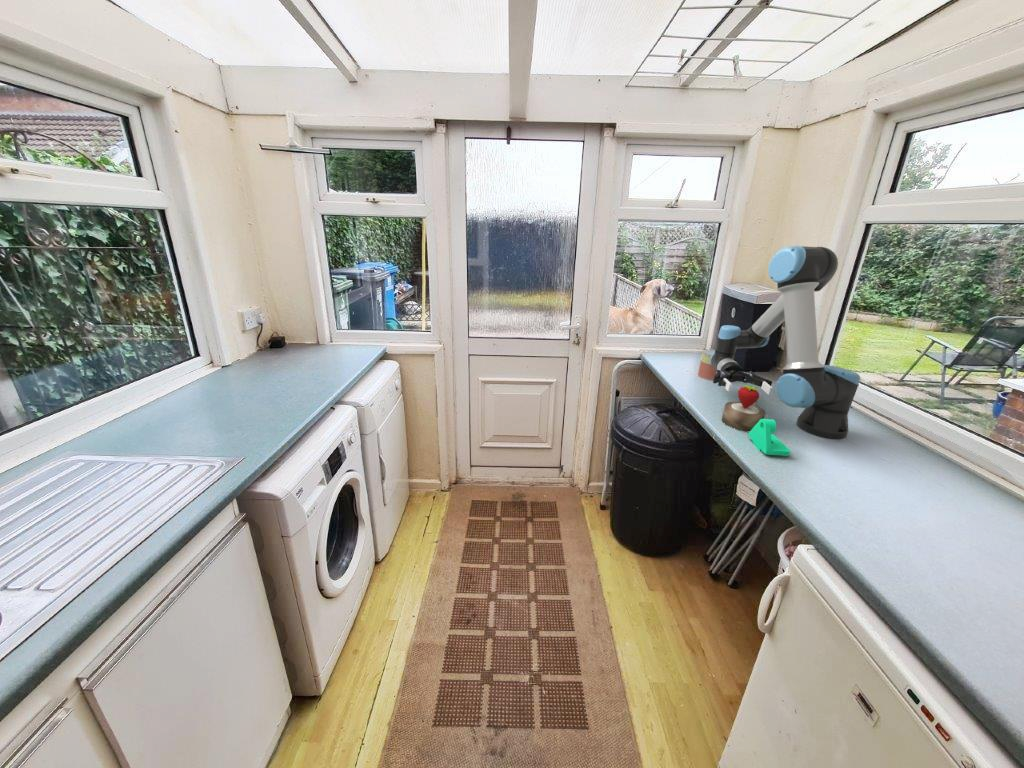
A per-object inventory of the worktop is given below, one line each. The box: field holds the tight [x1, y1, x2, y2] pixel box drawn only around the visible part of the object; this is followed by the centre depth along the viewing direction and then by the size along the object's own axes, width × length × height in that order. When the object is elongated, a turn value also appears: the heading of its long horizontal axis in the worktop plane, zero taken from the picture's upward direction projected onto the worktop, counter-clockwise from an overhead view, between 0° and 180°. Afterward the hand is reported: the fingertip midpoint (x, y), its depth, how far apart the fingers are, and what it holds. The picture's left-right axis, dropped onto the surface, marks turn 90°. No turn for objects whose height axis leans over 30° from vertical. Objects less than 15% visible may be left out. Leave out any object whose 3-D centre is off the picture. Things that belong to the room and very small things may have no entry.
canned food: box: [697, 349, 722, 382], centre depth 198 cm, size 11×11×12 cm
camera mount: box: [747, 418, 791, 457], centre depth 134 cm, size 12×8×10 cm, turn 175°
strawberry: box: [737, 382, 760, 408], centre depth 149 cm, size 6×8×10 cm
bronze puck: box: [721, 400, 766, 432], centre depth 152 cm, size 13×13×6 cm
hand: (750, 389), depth 147 cm, fingers open, 13 cm apart
